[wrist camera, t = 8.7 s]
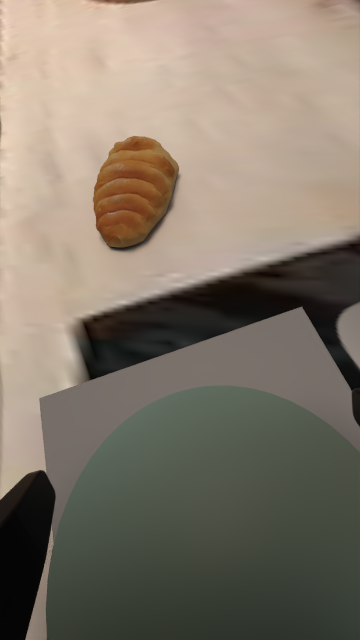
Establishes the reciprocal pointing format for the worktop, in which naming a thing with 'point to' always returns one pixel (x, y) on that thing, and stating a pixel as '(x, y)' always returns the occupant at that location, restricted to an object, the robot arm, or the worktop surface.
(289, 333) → the keyhole plate
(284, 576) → the teal post
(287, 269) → the worktop surface
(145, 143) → the pastry
